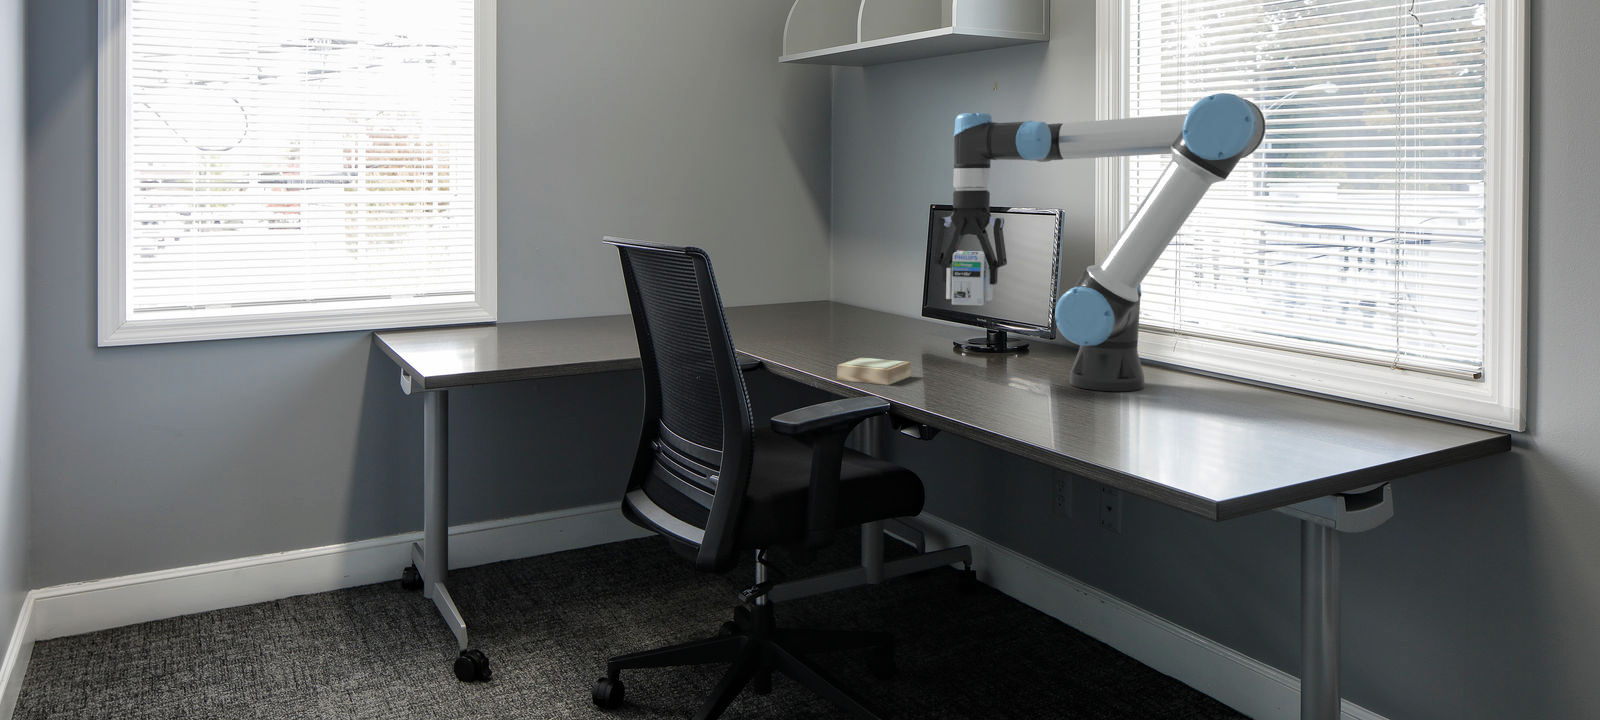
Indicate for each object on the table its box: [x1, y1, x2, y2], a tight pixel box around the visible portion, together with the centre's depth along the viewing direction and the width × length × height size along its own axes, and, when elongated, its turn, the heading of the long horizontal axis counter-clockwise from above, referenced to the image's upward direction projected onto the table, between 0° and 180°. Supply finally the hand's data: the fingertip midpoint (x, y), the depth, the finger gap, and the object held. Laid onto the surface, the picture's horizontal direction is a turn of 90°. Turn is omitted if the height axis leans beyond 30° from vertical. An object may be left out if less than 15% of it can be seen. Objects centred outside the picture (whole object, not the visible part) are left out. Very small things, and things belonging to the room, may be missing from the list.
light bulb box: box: [951, 250, 988, 307], centre depth 234 cm, size 11×7×11 cm, turn 168°
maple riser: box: [836, 357, 912, 386], centre depth 242 cm, size 12×12×3 cm
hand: (969, 299), depth 235 cm, fingers closed on light bulb box, 8 cm apart
